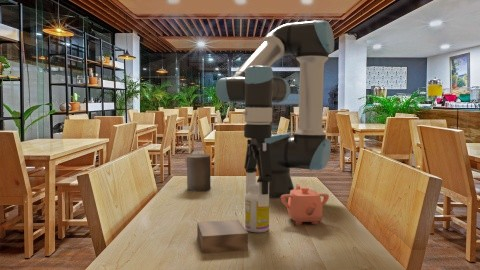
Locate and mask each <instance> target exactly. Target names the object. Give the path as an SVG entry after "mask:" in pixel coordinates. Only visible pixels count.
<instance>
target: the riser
mask: <svg viewBox="0 0 480 270" xmlns="http://www.w3.org/2000/svg"><path fill="white" fill-rule="evenodd" d="M196 226H197V227H196V229H197V231H196V232H197V234H196V236H197V241H198V243H199V246H200V249H201V251H202V253H203V254H205V253H217V252H230V251H231V252H233V251H244V250H245V251H246V250H249V231H247V230H246V228H245V226H243V224H242V223H241V221H240V220H239V219H233V220H218V221H217V220H216V221H215V220H214V221H197V224H196Z"/></svg>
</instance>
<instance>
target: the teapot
mask: <svg viewBox="0 0 480 270" xmlns="http://www.w3.org/2000/svg"><path fill="white" fill-rule="evenodd" d="M295 187H296V189H294V190H291V191H290V194H285V195H282V196H281V197H280V201H281V203H282V204H283V205H284V206H285V207H286V208H287V213H288V216H289V218H290V220H293V221H295V225H297V226H302V225H303V222H304V223H306V222H307V223H309V222H310V223H311V225H318V224H319V222H321V221H322V219H323V216H324V215H323V212H324V211H323V210H324V209H323V207H324V206H325V204H327V202H328V201H329V198H330V196H329V194H328V193H318V192H317V191H316V190H313V189H310V188H309V187H307V186H306V187H305V186H304V187H301V186H300V184H298V183H296V184H295ZM286 198H287V199H288V200H287V199H286ZM322 198H323V199H322Z"/></svg>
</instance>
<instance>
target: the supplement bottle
mask: <svg viewBox="0 0 480 270" xmlns="http://www.w3.org/2000/svg"><path fill="white" fill-rule="evenodd" d="M249 190H250V191H249V193H247V194H246V193H245V197H244V200H245V201H244V202H245V203H244V205H245V211H244V214H245V215H244V216H245V217H244V223H245V224H244V225H245V226H244V228H245V230H246V231H247V232H249V233H256V234H257V233H259V234H260V233H265V232H268V230H270V229H269V228H270V205H269V206H265V207H259V206H258V183H257V182H256V183H250V184H249Z"/></svg>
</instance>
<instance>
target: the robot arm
mask: <svg viewBox="0 0 480 270" xmlns="http://www.w3.org/2000/svg"><path fill="white" fill-rule="evenodd" d="M334 36H335V35H334V33H333V29H332V25H331V24H330V22H328V21H327V20H321V19H320V20H316V19H314V20H311V21H310V20H308V21H307V20H306V21H299V22H290V23H285V24H282V25H279V26H278V27H276V28H274V29H273V30H272V31H270V32H269V33H267V34H266V35H265V36H264V37H263V38H262V39H261V41H260V43H259V47H257V48H256V50H255V51H254V52H253V53H252V54H251V55H250V56H249V58H247V59H246V60H245V62H243V64H241V66H240V67H239V68H238V69H237V70H236V71H235V72H234V74H232V75H231V77H227V76H226V77H222V78H219V79H218V80H217V82H216V84H215V85H216V86H215V93H216V97H217V99H218V100H219V101H220V102H225V103H244V110H243V111H242V115H243V116H244V122H245V124H244V127H243V137H244V138H245V139H246V138H247V140H246V142H247V145H246V155H245V159H244V167H243V168H244V170H245V172H246V173H245V175H246V176H245V178H246V179H245V195H246V194H247V193H249V191H250V190H249V184H250V183H258V206H259V207H265V206H269V207H270V198H281V196H282V195H285V194H290V191H291V190H295V187H294V183H293V180H292V176H291V169H296V170H297V169H298V170H307V171H308V170H309V171H322V170H324V169H325V168H326V167H327V165H328V163H329V160H330V157H331V150H332V145H331V144H332V143H331V139H329V138H327V133H326V131H324V130H323V108H324V107H323V106H324V105H323V104H324V103H323V102H324V100H323V99H324V72H325V63H326V62H327V61H328V60H329V55H330V54H332V53H333V52H334V51H335V37H334ZM294 55H295V59H296V60H297V61H298V63H299V90H298V91H299V93H298V95H299V96H298V97H299V99H298V100H299V101H298V123H297V124H298V127H297V130H296V131H295V132H294V133H293V137H292V136H291V133H278V134H276V133H275V134H272V133H273V132H272V131H273V130H272V129H273V127H272V126H273V125H272V124H271V123H272V122H273V103H275V104H276V103H277V104H279V103H282V102H283V103H284V102H285V101H286V100H287V99H288V98H289V96H290V94H291V86H290V83H289V82H288V80H286V79H285V78H282V77H281V76H274V74H273V73H274V72H273V68H272V67H271V66H272V65H273V64H274V63H275V62H276V61H278V60H280V59H282V58H283V57H286V56H294ZM257 172H258V178H256V176H257Z"/></svg>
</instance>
